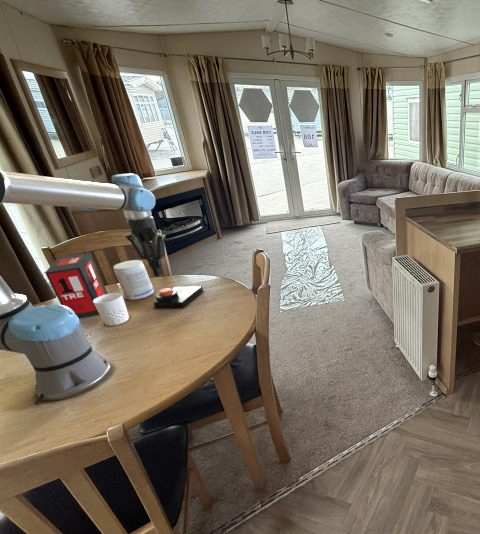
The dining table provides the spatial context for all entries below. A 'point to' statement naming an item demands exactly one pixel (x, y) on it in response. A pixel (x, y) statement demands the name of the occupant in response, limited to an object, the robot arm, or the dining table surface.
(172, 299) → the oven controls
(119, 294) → the white cup
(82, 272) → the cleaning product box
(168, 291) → the oven button
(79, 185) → the robot arm
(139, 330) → the dining table surface
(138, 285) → the supplement tub
